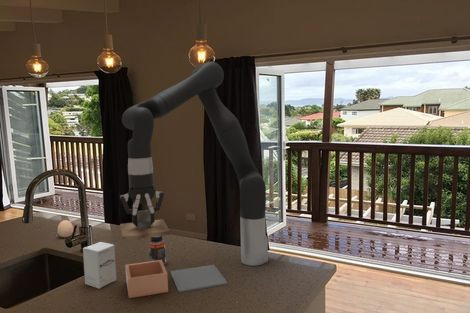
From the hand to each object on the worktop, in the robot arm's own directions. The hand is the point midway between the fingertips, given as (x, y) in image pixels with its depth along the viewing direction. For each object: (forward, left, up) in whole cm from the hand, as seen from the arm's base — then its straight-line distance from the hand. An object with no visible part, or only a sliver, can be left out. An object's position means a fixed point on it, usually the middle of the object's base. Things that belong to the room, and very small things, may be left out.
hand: (143, 224), depth 125 cm
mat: (-17, 0, -21) cm, 27 cm away
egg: (+29, -65, -21) cm, 74 cm away
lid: (0, 0, -2) cm, 2 cm away
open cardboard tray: (0, 0, -21) cm, 21 cm away
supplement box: (+14, -9, -21) cm, 27 cm away
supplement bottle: (-6, -17, -21) cm, 28 cm away
